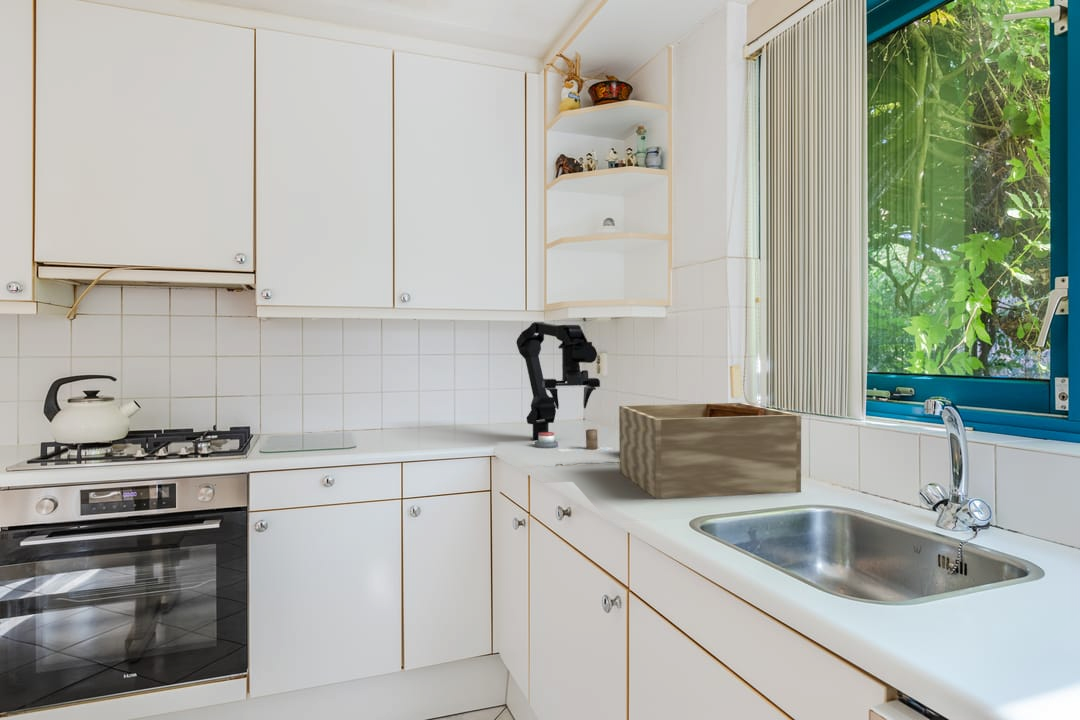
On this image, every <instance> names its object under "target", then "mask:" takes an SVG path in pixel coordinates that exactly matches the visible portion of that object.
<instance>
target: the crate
mask: <svg viewBox="0 0 1080 720" xmlns="http://www.w3.org/2000/svg"><path fill="white" fill-rule="evenodd" d="M707 404H714V405H724V406H726V405H728V406H732V405H736V406H738V407H743V408H753V409H762V410H764V414H763V416H737V417H705V414H706V405H707ZM618 412H619V413H618V415H619V417H618V420H619V421H618V422H619V423H618V424H619V426H618V427H619V430H618V431H619V432H618V433H619V434H618V435H619V437H618V438H619V444H618V445H619V472H620V473H621V474H622V475H624V476H625V477H626V478H628V479H629V480H630V479H631V480H630V481H632V482H633V483H634V482H635V483H634V484H636V485H637V486H638V485H639V486H638V487H639V488H641V489H642V488H643V489H642V490H644V491H645V490H646V491H647V492H646V491H645V492H646V493H648V494H649V495H650V494H651V495H652V496H651V495H650V496H651V497H653V498H654V497H655V498H656V500H658V499H657V498H663V500H665V499H664V498H668V499H685V498H703V497H706V498H708V497H721V496H722V497H723V496H725V497H726V496H741V495H742V496H743V495H746V496H747V495H759V494H761V495H762V494H779V493H780V494H781V493H800V492H802V414H797V413H792V412H788V411H782V410H777V409H773V408H770V407H769V408H768V407H763V406H759V405H755V404H749V403H746V402H715V403H713V402H712V403H709V402H707V403H682V404H681V403H676V404H645V405H644V404H641V405H640V404H639V405H637V404H636V405H633V404H632V405H619V409H618ZM655 498H654V499H655Z"/></svg>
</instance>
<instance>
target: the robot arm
mask: <svg viewBox="0 0 1080 720" xmlns="http://www.w3.org/2000/svg"><path fill="white" fill-rule="evenodd" d="M545 335H546V336H549V337H550V336H551V337H554V338H556V339H557V340H559V341H561V343H560V345H559V346H558V347H557V348H558V349H561V356H562V357H561V361H562V362H561V363H562V366H561V368H562V369H561V370H562V377H561V378H562V379H561V380H557V379H555V378H544V375H543V371H542V366H541V362H540V357H539V356H540V353H541V351H542V346H541V344H542V343H543V342H544V340H545ZM516 347H517V349H518V352H519V354H520V355H521V356H522V358H523V359H524V360H525V365H526V370H527V374H528V379H529V382H530V383H529V384H530V387H531V391H532V396H533V397H532V401H531V403H530V409H531V410H530V412H529V413H528V414H527V416H526V422H527V425H532V437H530V440H531V442H536V441H539V435H538V433H540V432H550V431H549V429H550V428H549V427H550V426H549V424H554V422H555V418H556V414H557V410H559V408H560V407H559V405H560V404H559V397H558V388H557V387H562V386H563V387H566V386H567V387H574V386H579V387H580V386H584V387H583V409H586V408H587V405H588V402H589V399H590V396H591V394H592V393H593V391H594V390H597V388H601V380H600V379H599V378H597V377H589V371H588V369H587V370H586V369H585V370H581V366H580V363H584V364H585V363H586V364H588V363H589V364H592V363H594V362H595V361H596V360H597V357H598V351H597V349H596V347H595V346H594V345H593V342H592V341H588V339H587V338H586V336H585V333H584V332H583V329H582V327H581V325H579V324H559V325H557V324H551V323H547V322H543V321H536V322H535V321H534V322H532V323H531V324H530V326H529V327H527V328H526V329H524V330H523V331H522V332H521V333H520V334H519V336H518V337H517V339H516ZM547 391H549V393H550V394H551V396H549V395H548V393H547Z"/></svg>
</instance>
